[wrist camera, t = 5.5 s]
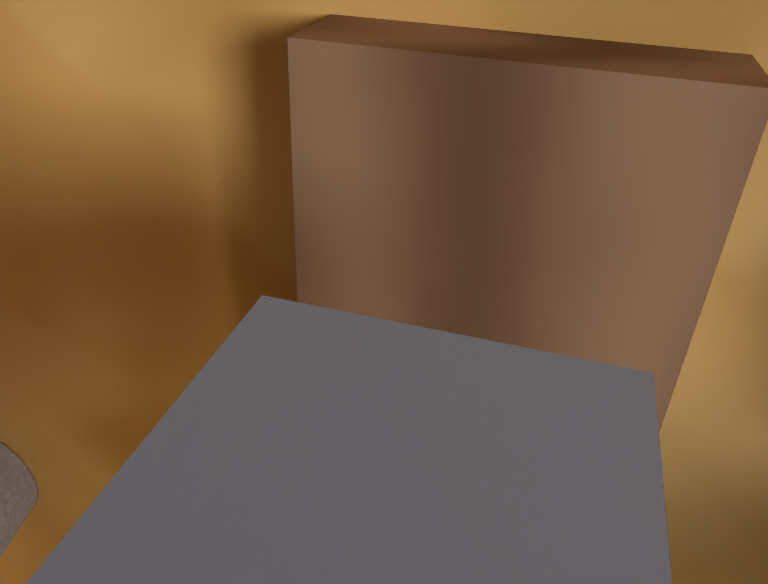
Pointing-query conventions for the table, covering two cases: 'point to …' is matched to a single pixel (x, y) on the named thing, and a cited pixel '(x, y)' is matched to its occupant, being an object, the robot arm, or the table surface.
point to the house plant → (14, 495)
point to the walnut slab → (519, 183)
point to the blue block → (383, 466)
